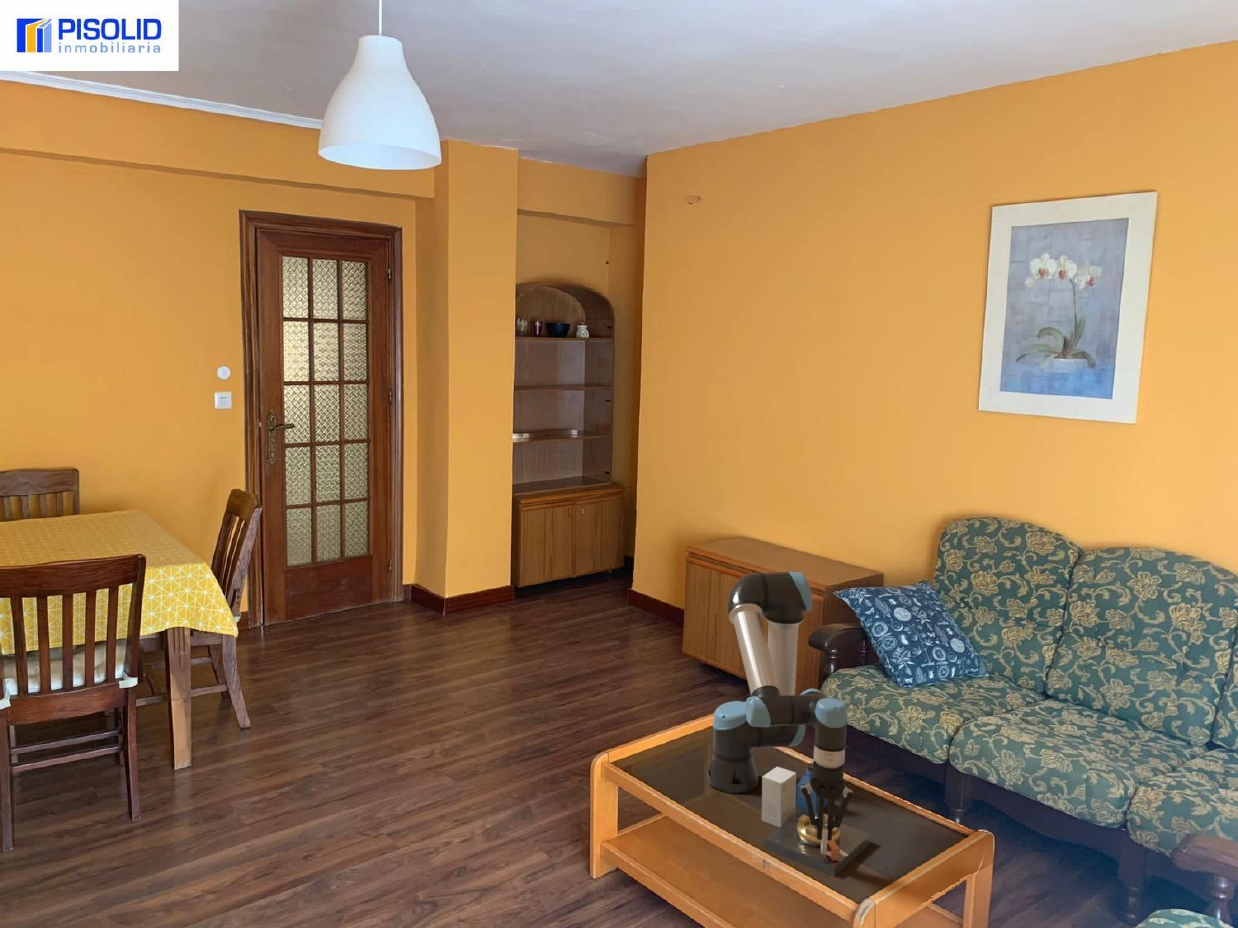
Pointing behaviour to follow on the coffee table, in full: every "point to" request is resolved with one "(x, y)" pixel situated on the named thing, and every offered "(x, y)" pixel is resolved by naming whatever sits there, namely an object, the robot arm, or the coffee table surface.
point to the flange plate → (795, 849)
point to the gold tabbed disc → (810, 837)
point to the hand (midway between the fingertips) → (823, 850)
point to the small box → (778, 796)
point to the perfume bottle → (815, 799)
